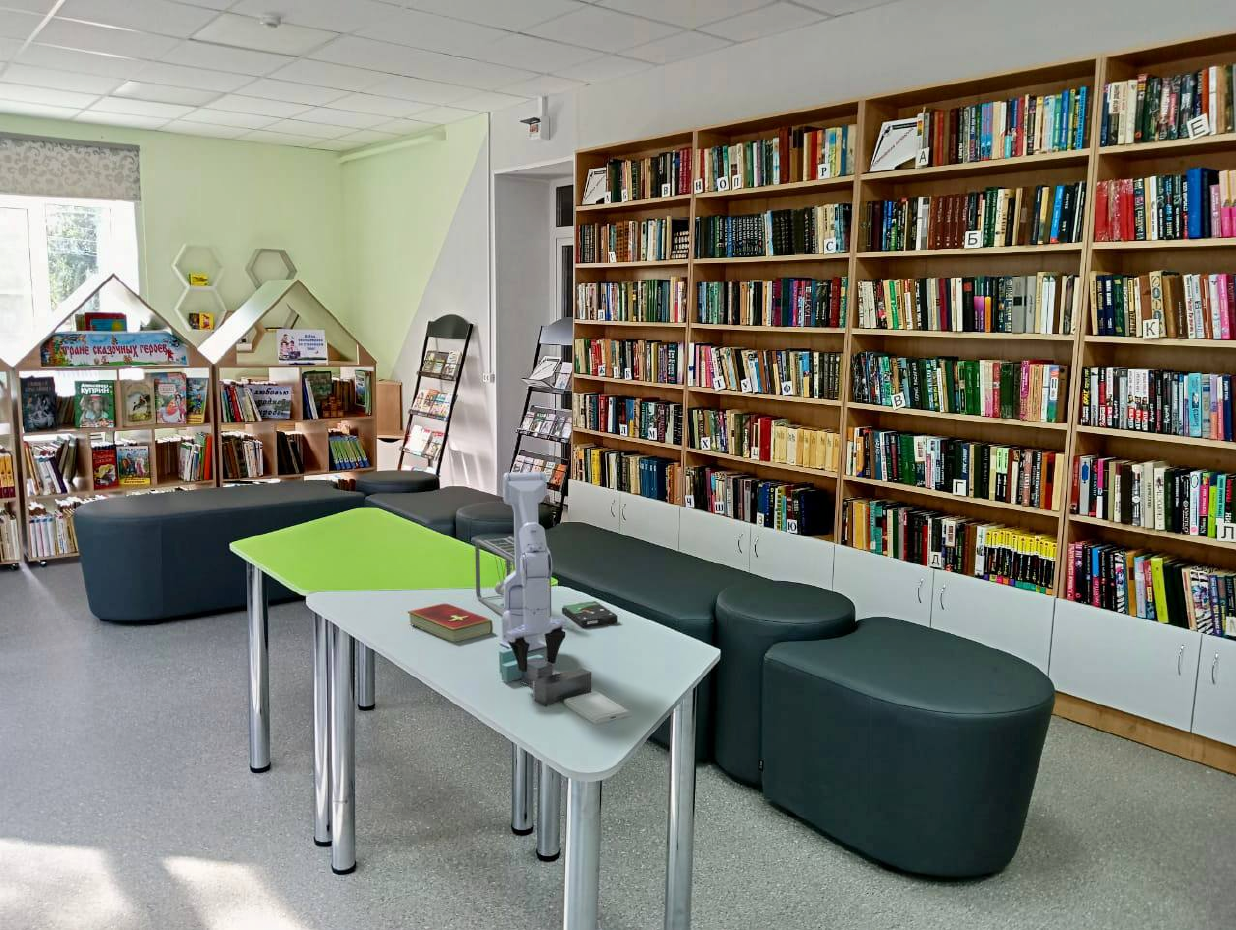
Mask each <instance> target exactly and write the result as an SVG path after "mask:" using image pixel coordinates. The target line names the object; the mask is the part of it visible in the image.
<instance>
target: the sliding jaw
mask: <svg viewBox="0 0 1236 930" xmlns="http://www.w3.org/2000/svg"><path fill="white" fill-rule="evenodd" d="M498 652H499V655H498V657H499V661H498V663H499V674H501V680H502V681H504V682H506V683H508V682H511V681H512V682H513V681H516V680H520V679H522V671H520V670H519V668H518V664H517V660H516V657H515V654H514V652H513V650H512V648H506V649H501V650H499V651H498ZM535 657H538V658H540V659H542V660H545V656H543V655H542V654H535V655H532V656H527V659H531V658H535Z"/></svg>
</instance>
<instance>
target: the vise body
mask: <svg viewBox="0 0 1236 930" xmlns="http://www.w3.org/2000/svg"><path fill="white" fill-rule="evenodd" d="M592 687H593V685H592V671H589V670H588V669H585V668H582V666H581V667H576V668H573V669H569V670H565V671H561V672H558V673H555V674H554V673H553V675H551V676H547V677H544V678H540V679H537V680H534V681H533V688H532V697H533V698H534V702H536V703H538V704H539V705H542V706H544V707H548V706H552V705H555V703H556V704H558V703H561V702H564V700H565V699H568V698H572V697H576V696H580V695H583V694H588V693H591V692H592V690H593V689H592Z"/></svg>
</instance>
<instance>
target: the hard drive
mask: <svg viewBox="0 0 1236 930" xmlns="http://www.w3.org/2000/svg"><path fill="white" fill-rule="evenodd" d="M563 704H564V705H565V706H566V705H567V706H566V707H568V708H569V709H571V710H573V711H574V712H575V713H577V714H579V715H580V716H582V717H584V718H585V719H587V720H589V722H592V723H593V724H595V725H599V724H602V723H607V722H609V721H613V720H618V719H621V718H625V717H628V716H631V711H630V710H628V709H626V708H624V707H623V706H621V704H618V703H617V702H615V701H613V700H611V699H610V698H608V697H606V696H605V695H604V694H602V693H600V692H598V691H593V692H591V693H588V694H583V695H580V696H576V697H572V698H568V699H565V700H564V701H563Z"/></svg>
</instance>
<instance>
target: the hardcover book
mask: <svg viewBox="0 0 1236 930" xmlns="http://www.w3.org/2000/svg"><path fill="white" fill-rule="evenodd" d="M407 614H409V624H410V623H411V624H413V625H415V626H418V627H420V628H422V629H421V630H423V629H424V631H425V630H426V631H425V632H427V633H430V632H431V634H433V635H435V636H438V637H439V638H443V639H445V640H447V641H449V642H452V643H457V642H460V641H461V642H462V641H464V640H469V639H472V638H476V637H479V636H483V635H487V634H492V633H493V631H494V627H493V625H494V624H493V620H492V619H490V618H488V617H485V616H482V615H480V614H478V613H473V612H472V611H471V612H470V611H468V610H466V609H463V608H461V607H457V606H455V605H453V604H449V603H446V602H442V603H439V604H438V603H437V604H433V605H429V606H425V607H422V608H416V609H411V610H408V611H407ZM411 624H410V625H411ZM413 625H412V626H413ZM415 626H414V627H415ZM418 627H417V628H418ZM420 628H419V629H420Z"/></svg>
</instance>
